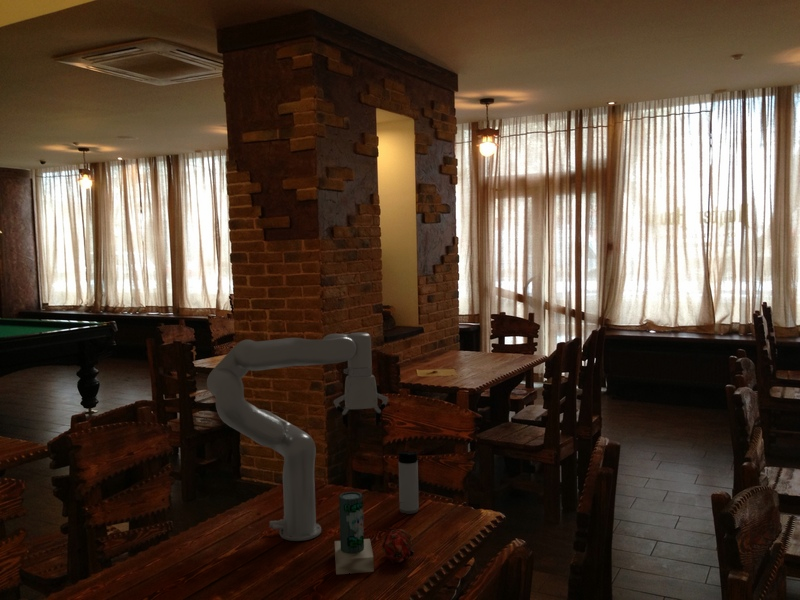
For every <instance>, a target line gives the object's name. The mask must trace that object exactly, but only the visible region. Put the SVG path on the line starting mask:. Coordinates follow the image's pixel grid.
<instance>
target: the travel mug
mask: <svg viewBox="0 0 800 600" xmlns="http://www.w3.org/2000/svg"><path fill="white" fill-rule="evenodd" d="M397 454H398V493H399V494H398V497H399V499H398V500H399V501H398V502H399V512H400V513H402V514H404V513H406V515H411V514H416V513H418V512H419V507H420V506H419V465H418V464H419V463H418V462H419V461H418V452H417V451H409V450H401V451H398V453H397Z"/></svg>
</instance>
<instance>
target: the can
mask: <svg viewBox="0 0 800 600" xmlns="http://www.w3.org/2000/svg"><path fill="white" fill-rule="evenodd" d="M363 497H364V495H363V493H361V492H360V491H359V492H358V491H346V492H342V493H339V496H338V500H339V501H338V503H339V505H338V507H339V508H338V509H339V534H340V535H339V537H340V540H339V541H340V543H341V551H343V552H344V553H348V554H349V553H351V554H353V553H358V552H361V551H362V550H364V539H365V538H364V537H365V534H364V533H365V531H364V499H363Z"/></svg>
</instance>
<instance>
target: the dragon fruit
mask: <svg viewBox="0 0 800 600" xmlns="http://www.w3.org/2000/svg"><path fill="white" fill-rule="evenodd" d="M411 538H412V535H411V534H410V533H409V532H408V533H407V532H406V531H405V530H404V529H402V528H400V529H399V528H398V529H392V530H391V531H390V532H389V534H386V535H385V536H384V537H383V542H382V545H381V549H382V551H384V555H385V556H386V557H387V558H388V560H389V561H390V563H391V564H392V565H396V564H397V563H402V562H404V560H407V559H408V557H412V556H414V553H415V551H414V550H412V549H413V546H414V545H413V542H412V541H411Z"/></svg>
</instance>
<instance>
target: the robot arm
mask: <svg viewBox="0 0 800 600" xmlns="http://www.w3.org/2000/svg"><path fill="white" fill-rule="evenodd" d="M371 337H372V336H371V335H370V334H369V333H368V332H360V331H359V332H358V331H357V332H351V333H329V334H327V335H325V336H324V337H323V338H322V339H308V338H302V337H285V338H279V339H271V340H270V339H269V340H259V341H256V340H252V339H243V340H241V341H239V342H238V343H236V344H235V345H234V346H233V347H232V348H231V349H230V351H229V352H228V353H226V355H225V356H224V357H223V358H222V359H221V360H220V362H218V364H217V365H216V366H215V367H213V369H212V370H211V372H209V374H208V377H207V379H206V387H207V390H208V392H209V393H210V394H211V395H212V396H214V397H215V409H216V412H217V414H218V417H219V418H220V419H221V421H222V422H223V423H224V424H226V425H227V426H229V428H231V429H234V430H235V431H237V432H239V433H241V434H242V435H243V436H246V437H248V438H250V439H251V440H252V441H254V442H255V443H256V444H258V445H261V446H263V447H267V448H270V449H271V450H273V451H275V452H277V453H278V454H280V455H281V456H282V457H283V459H284V460H283V467H282V489H283V490H282V491H283V493H282V494H283V518H282V519H281V518H280V520H269V528H272V530H279V536H280V538H281V539H284V540H286V541H290V542H303V541H309V540H312V539H315V538H317V537H319V536H320V534H322V526H321V525H320V524H319V523H317V515H316V514H317V513H316V486H315V461H316V455H317V449H316V443H315V441H314V439H313V437H312V436H311V435H309V434H308V432H305V431H304V430H302V429H301V428H299V427H298V426H296V425H294V424H292V423H290V422H289V421H287V420H285V419H283V418H281V417H279V416H278V415H276V414H274V413H273V412H271V411H269V410H266V409H263V408H262V409H260V408H259V407H257V406H255V405H254V404H252V403H250V402H249V401H247V400H246V399H245V395H244V393H245V387H244V382H243V380H242V378H244V377H245V376H246V375H247V373H248V372H249V371H251V372H252V371H253V372H258V371H259V372H261V371H267V370H273V369H281V368H282V369H283V368H289V367H305V366H321V365H330V364H339V363H344V362H347V368H344V369H343V374H345V375H347V376H346V377H345V383H344V394H343V395H341V396H339V397H337V398H335V399H334V400H333V404H334V406H335V407H336V409H337V411H339V413H340V414H342V424H343V425H345V426H344V427H345V428H348V427H349V423H348V418H349V417H348V412H349V410H364V409H366V410H369V409H374V410H375V412H374V415H375V417H374V419H375V426H379V423H381V413H382V412H383V410H384V409H385V408H386V406H387V404H388V402H389V398H388V396H385V395H383V394H380V393H378V389H377V382H376V377H375V375H374V374H373V366H372V365H373V363H372V362H373V360H372V359H373V358H372V338H371ZM378 399H379V400H382V403H381V404H380V405H378ZM343 401H344V405H345V406H344V407H342V406H341V405H340V403H341V402H343Z"/></svg>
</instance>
